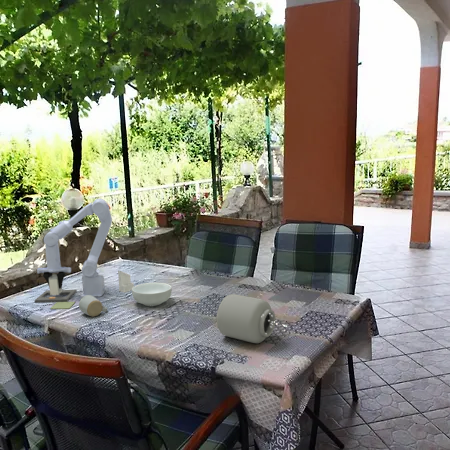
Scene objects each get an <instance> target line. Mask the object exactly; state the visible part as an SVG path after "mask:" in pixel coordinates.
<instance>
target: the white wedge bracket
mask: <svg viewBox="0 0 450 450" xmlns="http://www.w3.org/2000/svg"><path fill="white" fill-rule="evenodd" d="M117 274H118V275H117V276H118V291H119V292H121V293H124V294H125V293H128V292H132V288H133V287H134V286H135V283H134V282H132V281H131V274H128V272H127V273H126V272H124V271H121V270H118V272H117Z"/></svg>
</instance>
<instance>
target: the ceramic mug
mask: <svg viewBox="0 0 450 450" xmlns="http://www.w3.org/2000/svg"><path fill="white" fill-rule="evenodd" d="M78 308H79V310H80V311H81V312H82V313H84V314H85V315H87V316H89V317H94V318H95V317H97V316H99V315H100V314H101V313H102V312H103V313H107V311H108V307H106V306H104V305H103V303H102V302H101V301H100V300H99V299H98V298H97V297H94V296H92V295H86V296H84V297H81V299H80V300H79V301H78Z"/></svg>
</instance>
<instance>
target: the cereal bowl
mask: <svg viewBox="0 0 450 450" xmlns="http://www.w3.org/2000/svg"><path fill="white" fill-rule="evenodd" d="M172 290H173V289H172V286H171V285H170V284H168V283H166V282H146V283H145V282H144V283H141V284H137V285H134V287H133V288H132V290H131V293H132V294H131V295H132V298H133V299H134V301H135V302H137V303H139V304H142V305H143V306H146V307H157V306H159V305H161V304H162V303H165V302H167V301H168V300H169V299H170V297H171V295H172Z"/></svg>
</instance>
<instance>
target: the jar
mask: <svg viewBox="0 0 450 450" xmlns="http://www.w3.org/2000/svg"><path fill="white" fill-rule="evenodd" d="M276 325H278V323H276V314H275V311H274V310H273V309H272V307H271V305H270V303H269V302H268V301H267V300H265V299H262V298H256V297H252V296H251V297H250V296H246V295H240V294H235V293H231V294H228V295H226V296H225V297H224V298H223V299H222V301H221V302H220V304H219V305H218V308H217V312H216V326H217V329H218V331H219V332H220V334H221V335H222V336H224V337H228V338H232V339H236V340H240V341H244V342H248V343H252V344H259V343H262V342H263V341H265V339H266V338H268V337H270V336H271V335H272V334H273V332H274V330H275V326H276ZM282 326H283V327H286V328H287V327H288V325H285V324H282ZM283 331H284V332H285V331H286V329H283Z"/></svg>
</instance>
